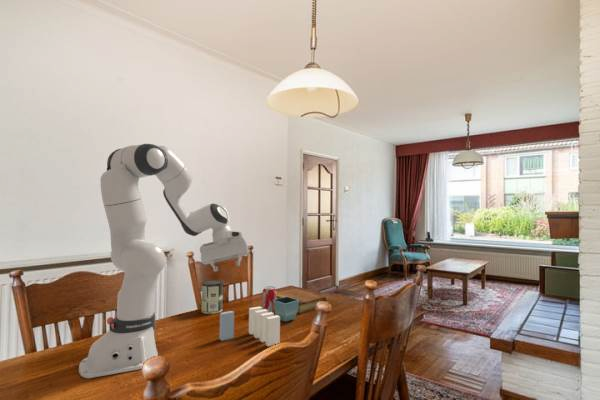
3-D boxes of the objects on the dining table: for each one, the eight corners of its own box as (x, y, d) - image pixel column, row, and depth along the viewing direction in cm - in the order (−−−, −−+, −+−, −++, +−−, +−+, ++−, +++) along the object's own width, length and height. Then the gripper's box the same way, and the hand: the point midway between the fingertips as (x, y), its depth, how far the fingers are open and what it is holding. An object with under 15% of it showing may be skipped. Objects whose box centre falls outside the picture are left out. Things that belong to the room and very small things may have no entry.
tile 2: (256, 338, 126) (256, 312, 126) (253, 336, 127) (254, 311, 128) (267, 335, 129) (267, 310, 129) (264, 334, 130) (265, 309, 131)
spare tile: (221, 340, 123) (222, 314, 123) (219, 339, 125) (220, 313, 125) (233, 337, 126) (234, 312, 126) (231, 336, 128) (232, 310, 128)
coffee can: (215, 306, 166) (216, 278, 167) (226, 310, 159) (227, 282, 160) (197, 310, 159) (197, 281, 159) (208, 315, 152) (208, 285, 152)
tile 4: (268, 346, 118) (268, 319, 119) (265, 344, 120) (266, 317, 120) (279, 343, 121) (280, 316, 122) (276, 341, 123) (277, 315, 123)
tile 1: (250, 334, 129) (251, 309, 130) (248, 333, 131) (249, 308, 131) (261, 332, 132) (262, 307, 133) (259, 330, 134) (259, 306, 134)
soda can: (274, 315, 153) (274, 289, 154) (260, 314, 155) (260, 288, 155) (278, 310, 160) (278, 286, 161) (264, 309, 162) (264, 285, 162)
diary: (326, 307, 169) (326, 296, 169) (300, 315, 156) (300, 303, 156) (296, 297, 185) (296, 287, 185) (270, 304, 172) (270, 293, 172)
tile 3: (262, 342, 122) (262, 315, 122) (259, 340, 124) (260, 314, 124) (273, 339, 125) (273, 313, 125) (270, 337, 127) (271, 312, 127)
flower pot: (272, 319, 148) (272, 299, 148) (287, 315, 154) (287, 296, 154) (284, 324, 141) (284, 303, 142) (299, 320, 147) (299, 300, 148)
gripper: (197, 241, 138) (200, 271, 131) (244, 231, 141) (250, 259, 133) (201, 248, 143) (203, 277, 136) (246, 238, 146) (251, 265, 139)
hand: (227, 268), depth 135 cm, fingers open, 8 cm apart
